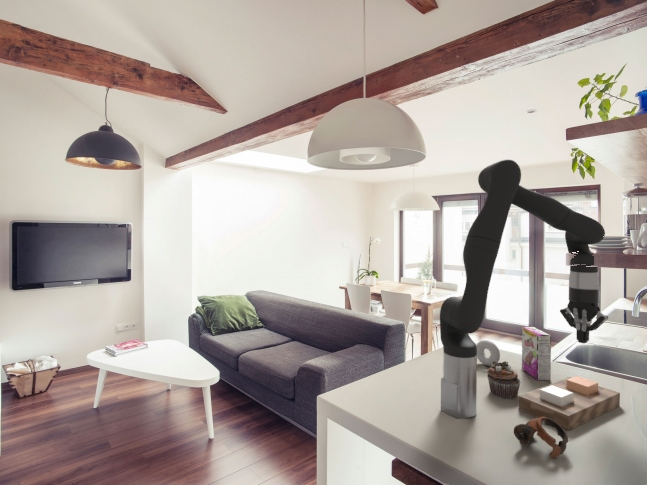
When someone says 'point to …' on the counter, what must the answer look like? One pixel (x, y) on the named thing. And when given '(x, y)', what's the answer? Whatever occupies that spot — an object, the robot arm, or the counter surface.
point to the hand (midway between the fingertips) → (582, 342)
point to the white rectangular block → (556, 395)
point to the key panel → (570, 405)
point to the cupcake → (503, 380)
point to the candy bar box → (536, 353)
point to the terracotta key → (582, 385)
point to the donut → (493, 351)
